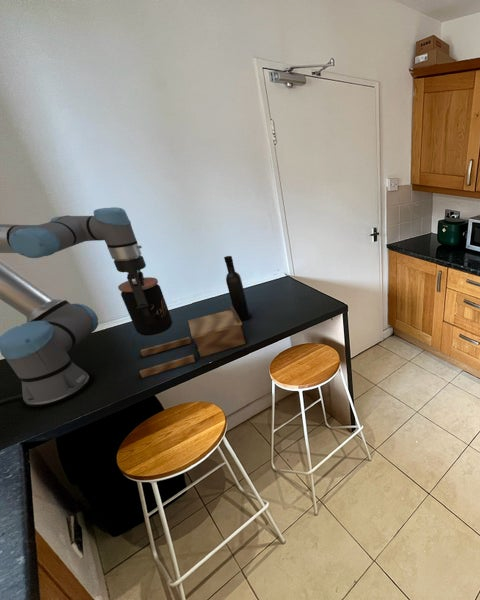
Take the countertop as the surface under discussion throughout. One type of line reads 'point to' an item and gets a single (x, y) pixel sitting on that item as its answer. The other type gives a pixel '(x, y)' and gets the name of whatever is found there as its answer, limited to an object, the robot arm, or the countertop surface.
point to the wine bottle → (236, 290)
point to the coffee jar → (156, 304)
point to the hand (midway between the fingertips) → (151, 316)
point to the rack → (202, 339)
